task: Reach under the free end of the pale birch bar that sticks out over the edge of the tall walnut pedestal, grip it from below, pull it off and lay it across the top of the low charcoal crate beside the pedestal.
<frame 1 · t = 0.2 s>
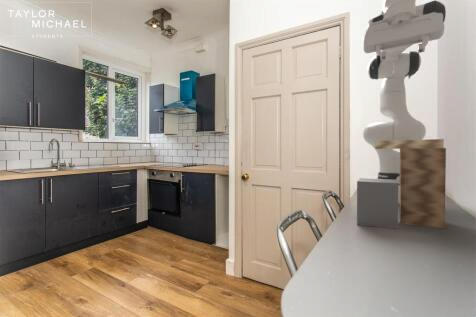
hand: (401, 54, 73), 54 cm above the countertop, tool tilted 25°, fingers open, 8 cm apart
bar: (407, 148, 89), point 26 cm above the countertop, touching pedestal
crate: (377, 222, 88), on the countertop
pedestal: (420, 221, 88), on the countertop
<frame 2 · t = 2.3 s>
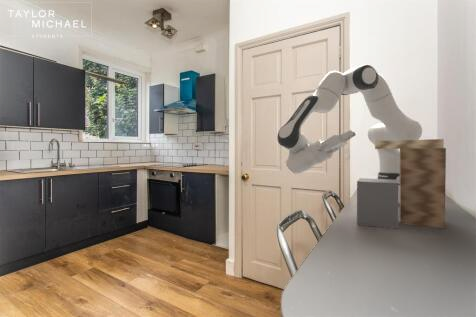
hand: (353, 132, 98), 33 cm above the countertop, tool pointing upward, fingers open, 8 cm apart
nothing on the countertop moved.
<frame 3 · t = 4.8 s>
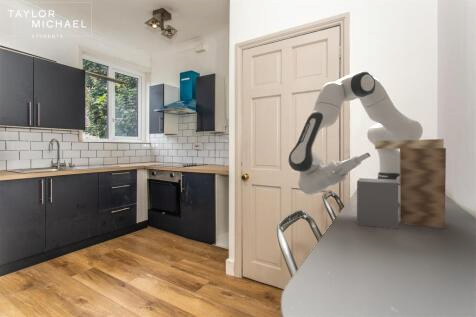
hand: (368, 154, 96), 24 cm above the countertop, tool pointing upward, fingers open, 8 cm apart
nothing on the countertop moved.
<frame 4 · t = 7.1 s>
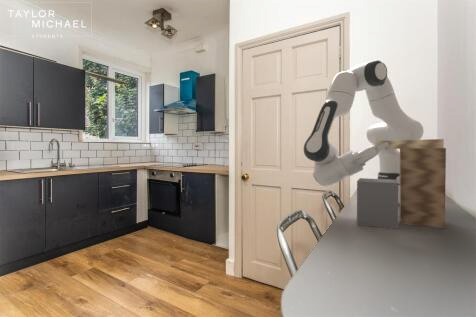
hand: (388, 143, 92), 28 cm above the countertop, tool pointing upward, fingers closed on bar, 3 cm apart
bar: (407, 148, 89), point 26 cm above the countertop, touching gripper, pedestal
everything else where it was.
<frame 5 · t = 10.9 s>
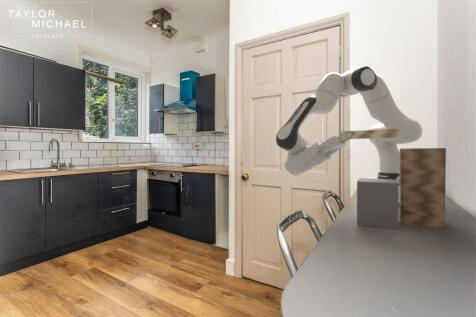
hand: (352, 133, 97), 32 cm above the countertop, tool pointing upward, fingers closed on bar, 3 cm apart
bar: (368, 138, 94), point 30 cm above the countertop, touching gripper
everything else where it was.
when the fingers open (19 cm above the countertop, at t = 15.1 s): bar drops 2 cm, resting on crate.
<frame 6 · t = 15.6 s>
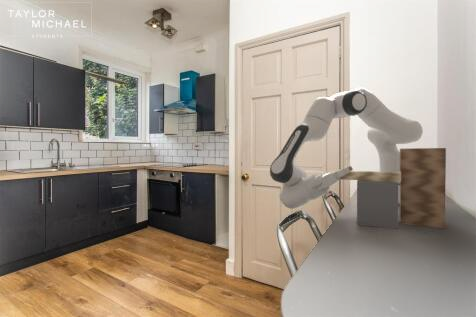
hand: (350, 168, 92), 19 cm above the countertop, tool pointing upward, fingers open, 8 cm apart
bar: (367, 180, 89), point 15 cm above the countertop, touching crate
everything else where it was.
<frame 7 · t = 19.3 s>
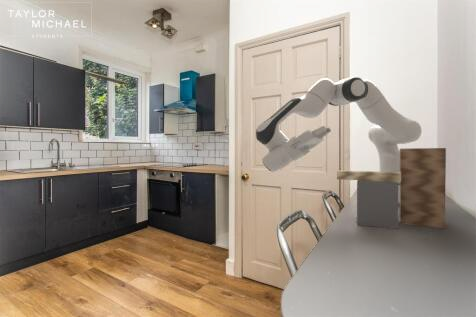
hand: (327, 128, 95), 34 cm above the countertop, tool pointing upward, fingers open, 8 cm apart
nothing on the countertop moved.
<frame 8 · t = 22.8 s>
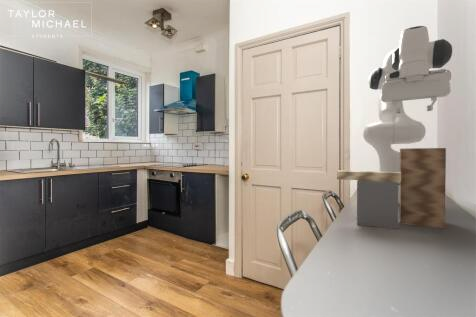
hand: (413, 112, 90), 39 cm above the countertop, tool pointing down, fingers open, 8 cm apart
nothing on the countertop moved.
at the end: bar inside the target area on the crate (0.2 cm from its centre), point 15.0 cm above the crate's base; the gripper is holding nothing; bar tilted 0° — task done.
